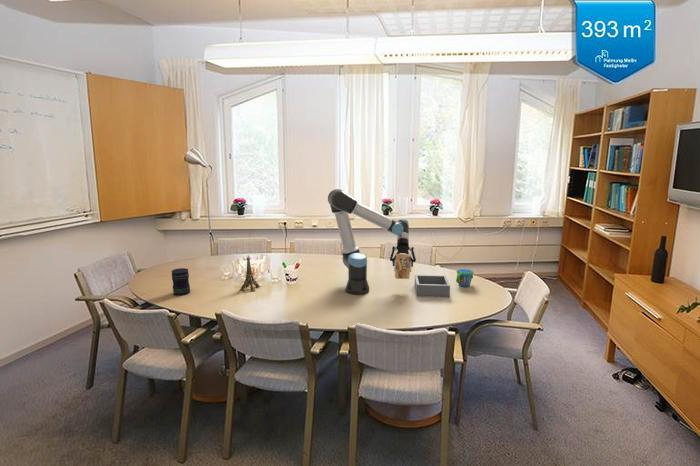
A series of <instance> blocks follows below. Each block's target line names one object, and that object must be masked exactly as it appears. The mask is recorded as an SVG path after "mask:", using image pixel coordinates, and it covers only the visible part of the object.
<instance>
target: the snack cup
mask: <svg viewBox="0 0 700 466" xmlns="http://www.w3.org/2000/svg"><path fill="white" fill-rule="evenodd" d="M456 274H457V275H456V279H455V282H456V283H457V284H458V286H460V287H463V288H469V287H470V286H471V284H472V279H473V278H474V270H471V269H467V268H459V269H456Z"/></svg>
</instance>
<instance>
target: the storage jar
mask: <svg viewBox="0 0 700 466" xmlns="http://www.w3.org/2000/svg"><path fill="white" fill-rule="evenodd" d="M189 278H190V274H189V268H185V267H184V268H183V267H182V268H175V269H172V270H171V280H172V292H173V296H175V297H181V296H187V295H189V294H190V293H191V291H190V289H191V286H190V283H189V282H190V280H189Z"/></svg>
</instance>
